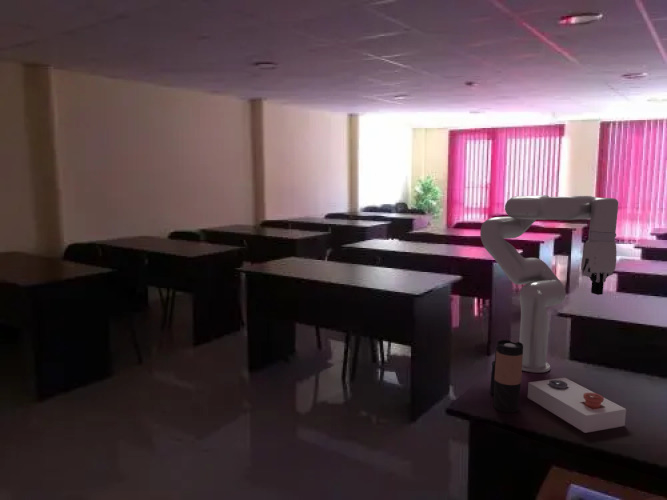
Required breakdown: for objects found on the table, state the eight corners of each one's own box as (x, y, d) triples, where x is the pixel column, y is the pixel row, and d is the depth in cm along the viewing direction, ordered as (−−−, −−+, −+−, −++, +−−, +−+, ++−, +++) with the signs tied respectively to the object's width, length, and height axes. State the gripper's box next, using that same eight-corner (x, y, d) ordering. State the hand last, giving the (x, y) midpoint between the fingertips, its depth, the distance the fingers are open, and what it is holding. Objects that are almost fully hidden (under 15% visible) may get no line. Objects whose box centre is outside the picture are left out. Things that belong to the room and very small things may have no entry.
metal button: (544, 394, 169) (545, 380, 169) (558, 392, 171) (559, 379, 170) (556, 401, 164) (557, 387, 164) (570, 399, 166) (571, 385, 165)
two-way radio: (490, 388, 177) (492, 344, 175) (504, 390, 176) (507, 345, 174) (490, 395, 172) (492, 350, 170) (504, 397, 171) (507, 351, 168)
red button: (578, 408, 156) (579, 393, 155) (592, 406, 158) (593, 391, 157) (591, 416, 151) (593, 401, 150) (606, 414, 153) (608, 398, 152)
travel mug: (499, 413, 159) (503, 348, 156) (488, 402, 166) (492, 340, 163) (524, 412, 160) (528, 347, 157) (511, 401, 168) (515, 339, 164)
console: (527, 397, 170) (528, 382, 170) (563, 392, 175) (564, 377, 174) (584, 432, 148) (586, 415, 147) (624, 425, 152) (626, 409, 152)
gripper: (610, 235, 176) (605, 289, 179) (573, 236, 172) (569, 292, 174) (630, 237, 169) (624, 295, 172) (592, 239, 165) (586, 298, 167)
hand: (596, 293), depth 173 cm, fingers closed
